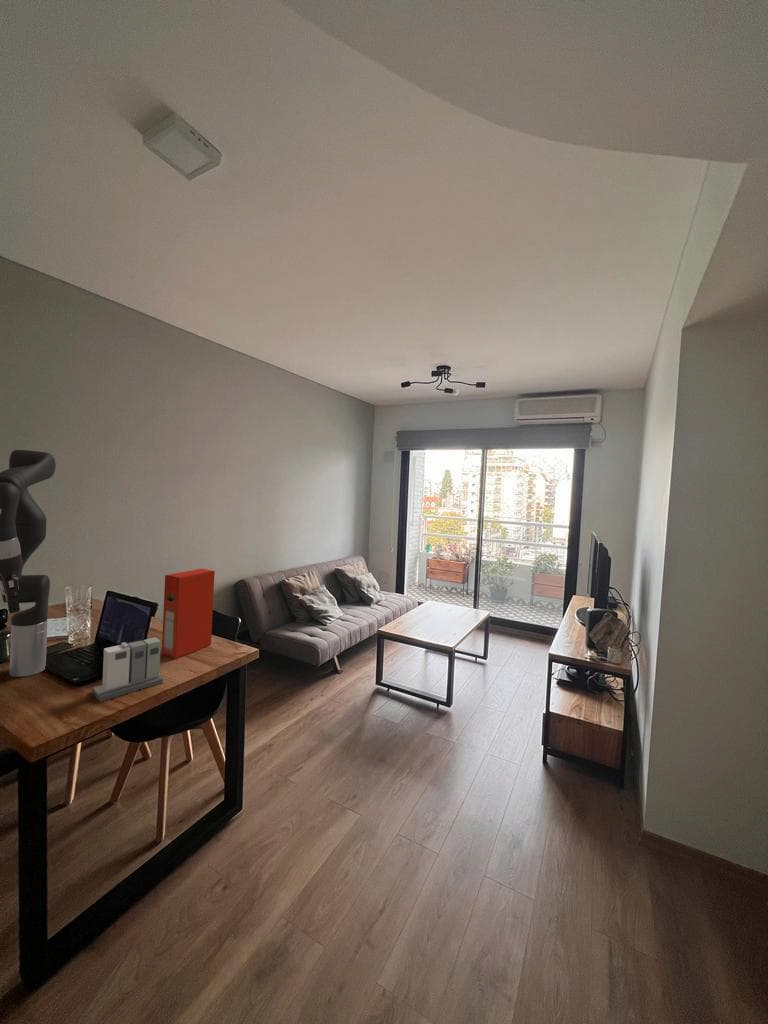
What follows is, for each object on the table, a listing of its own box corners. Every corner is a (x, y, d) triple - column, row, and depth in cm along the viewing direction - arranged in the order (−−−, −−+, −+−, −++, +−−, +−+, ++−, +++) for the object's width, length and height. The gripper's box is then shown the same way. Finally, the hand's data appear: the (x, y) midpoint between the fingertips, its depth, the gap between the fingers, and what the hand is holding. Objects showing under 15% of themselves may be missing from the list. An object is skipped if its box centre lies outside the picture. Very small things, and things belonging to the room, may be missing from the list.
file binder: (161, 654, 156) (165, 574, 155) (197, 640, 172) (201, 568, 170) (175, 659, 153) (179, 577, 151) (210, 645, 169) (215, 571, 167)
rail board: (92, 692, 126) (93, 648, 125) (153, 674, 140) (155, 635, 139) (99, 702, 121) (101, 656, 120) (162, 683, 135) (164, 642, 134)
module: (102, 685, 126) (104, 645, 126) (123, 679, 131) (125, 641, 130) (106, 690, 123) (108, 650, 123) (128, 684, 128) (130, 645, 127)
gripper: (26, 558, 108) (34, 611, 112) (15, 544, 116) (23, 594, 120) (-12, 564, 102) (-2, 620, 106) (-21, 549, 111) (-11, 602, 115)
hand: (11, 606), depth 113 cm, fingers open, 8 cm apart
